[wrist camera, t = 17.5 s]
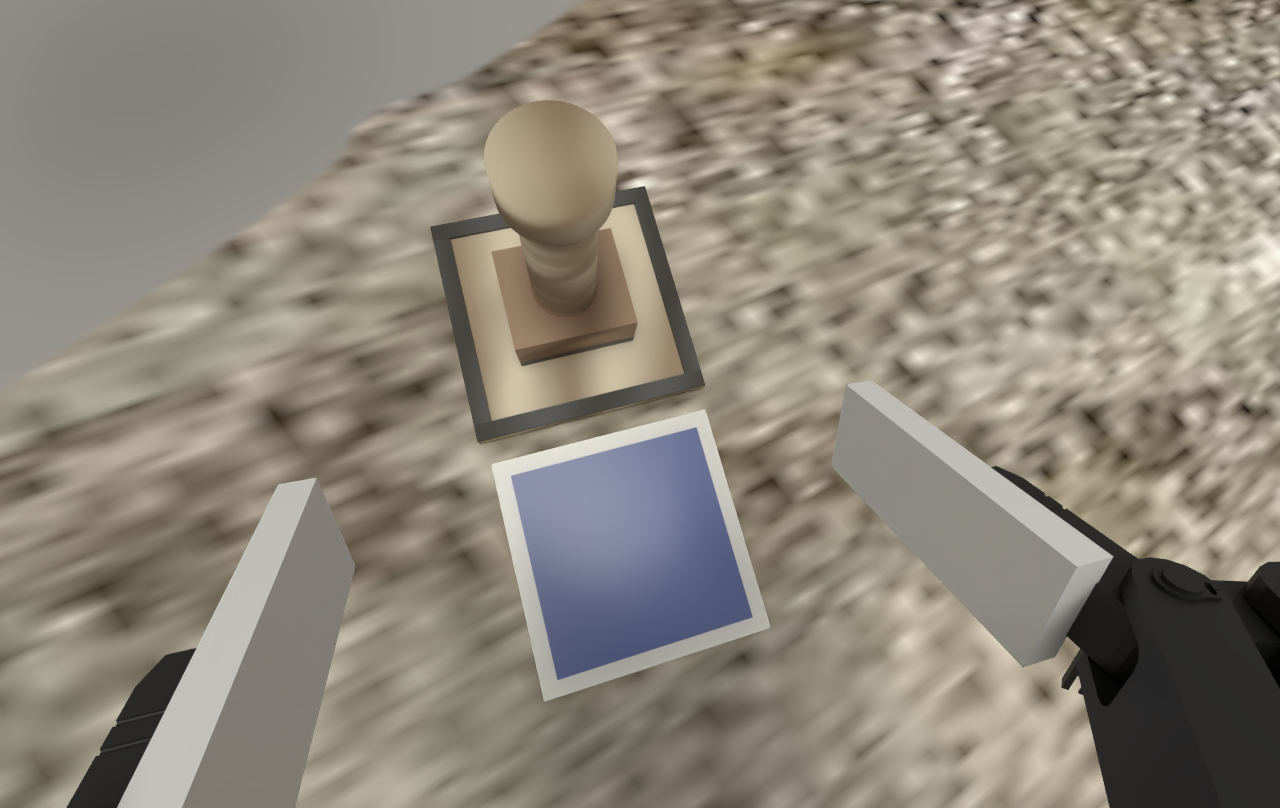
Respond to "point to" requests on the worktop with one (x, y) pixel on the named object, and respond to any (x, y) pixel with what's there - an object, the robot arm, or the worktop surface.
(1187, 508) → the worktop surface
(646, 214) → the marked board
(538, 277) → the stamp
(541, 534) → the ink pad
